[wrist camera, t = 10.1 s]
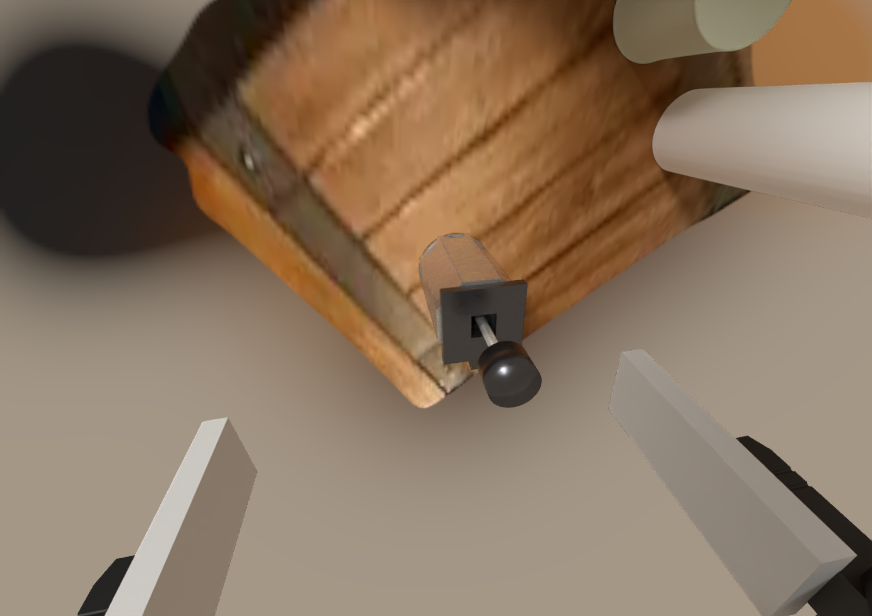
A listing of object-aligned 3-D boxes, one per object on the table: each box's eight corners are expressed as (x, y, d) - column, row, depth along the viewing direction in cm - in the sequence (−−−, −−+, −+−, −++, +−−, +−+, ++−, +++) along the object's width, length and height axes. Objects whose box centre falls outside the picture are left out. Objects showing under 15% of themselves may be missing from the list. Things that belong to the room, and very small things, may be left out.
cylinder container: (697, 179, 49) (1063, 265, 23) (639, 163, 47) (973, 240, 21) (739, 100, 45) (1243, 98, 19) (677, 78, 42) (1156, 44, 17)
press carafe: (416, 236, 47) (434, 288, 34) (489, 230, 48) (533, 277, 35) (422, 319, 53) (439, 389, 40) (486, 311, 54) (523, 378, 41)
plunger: (433, 258, 44) (474, 358, 27) (486, 253, 45) (559, 347, 28) (435, 306, 47) (473, 422, 30) (485, 300, 48) (549, 411, 31)
